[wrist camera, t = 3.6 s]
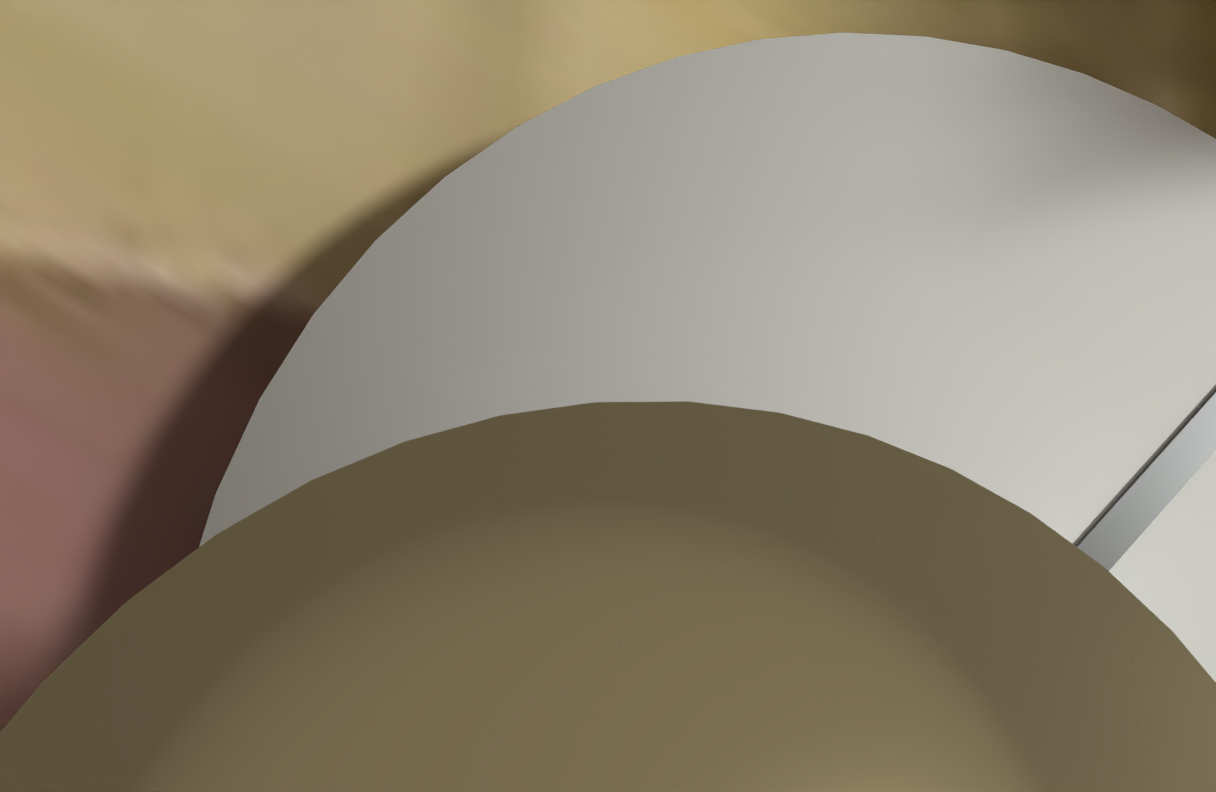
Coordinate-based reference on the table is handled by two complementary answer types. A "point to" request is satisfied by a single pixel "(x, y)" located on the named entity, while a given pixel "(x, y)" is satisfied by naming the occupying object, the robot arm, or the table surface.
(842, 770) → the brass-topped metal cylinder
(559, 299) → the white round disc
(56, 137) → the table surface
